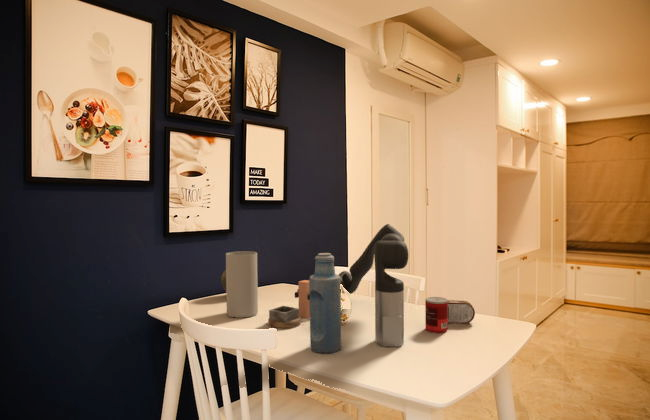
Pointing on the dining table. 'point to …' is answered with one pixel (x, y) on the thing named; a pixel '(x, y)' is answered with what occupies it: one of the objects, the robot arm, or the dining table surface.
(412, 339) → the dining table surface
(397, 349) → the dining table surface
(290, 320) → the block holder stand
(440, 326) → the canned food
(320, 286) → the bottle
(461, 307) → the tin
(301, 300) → the post
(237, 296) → the cylinder vase
